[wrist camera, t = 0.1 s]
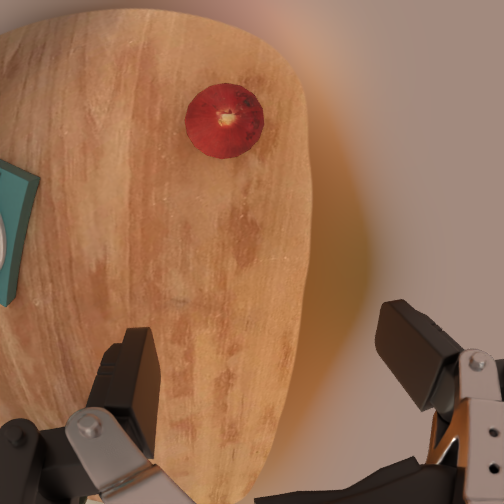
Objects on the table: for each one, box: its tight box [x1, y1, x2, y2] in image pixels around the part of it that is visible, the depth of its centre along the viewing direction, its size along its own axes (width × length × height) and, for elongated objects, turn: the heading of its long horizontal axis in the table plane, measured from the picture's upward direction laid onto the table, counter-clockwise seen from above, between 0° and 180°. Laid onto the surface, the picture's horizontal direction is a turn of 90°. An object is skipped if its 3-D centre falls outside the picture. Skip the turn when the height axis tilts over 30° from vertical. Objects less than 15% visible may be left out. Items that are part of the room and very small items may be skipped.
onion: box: [185, 83, 264, 159], centre depth 22 cm, size 6×6×8 cm
